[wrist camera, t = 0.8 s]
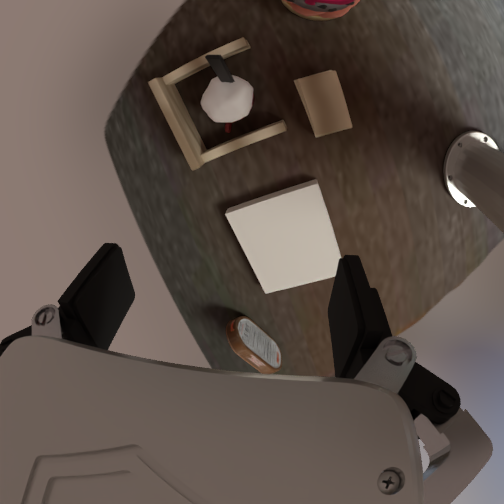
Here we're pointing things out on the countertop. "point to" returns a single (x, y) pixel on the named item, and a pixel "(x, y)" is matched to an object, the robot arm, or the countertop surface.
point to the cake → (319, 8)
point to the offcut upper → (325, 102)
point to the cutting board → (287, 237)
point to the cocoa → (226, 95)
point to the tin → (254, 345)
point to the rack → (182, 120)
